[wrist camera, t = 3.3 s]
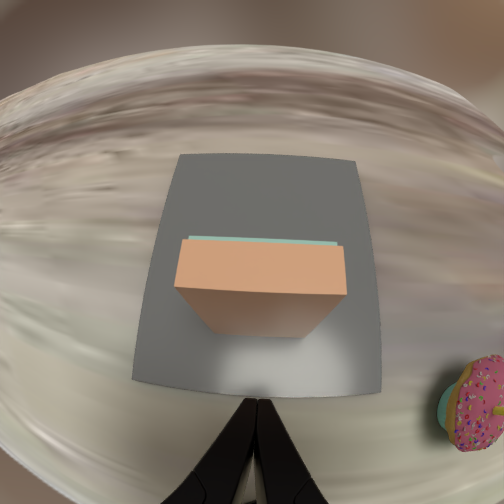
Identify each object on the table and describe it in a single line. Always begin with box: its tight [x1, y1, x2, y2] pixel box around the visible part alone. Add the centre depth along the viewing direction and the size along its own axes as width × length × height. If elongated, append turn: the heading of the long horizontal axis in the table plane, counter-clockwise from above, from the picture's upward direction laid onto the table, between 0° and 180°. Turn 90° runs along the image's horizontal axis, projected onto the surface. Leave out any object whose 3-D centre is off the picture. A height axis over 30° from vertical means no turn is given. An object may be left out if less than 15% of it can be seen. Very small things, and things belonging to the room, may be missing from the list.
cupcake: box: [437, 355, 504, 452], centre depth 12 cm, size 9×8×12 cm
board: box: [132, 153, 382, 398], centre depth 24 cm, size 24×20×1 cm
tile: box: [174, 236, 347, 338], centre depth 16 cm, size 2×7×11 cm, turn 87°
